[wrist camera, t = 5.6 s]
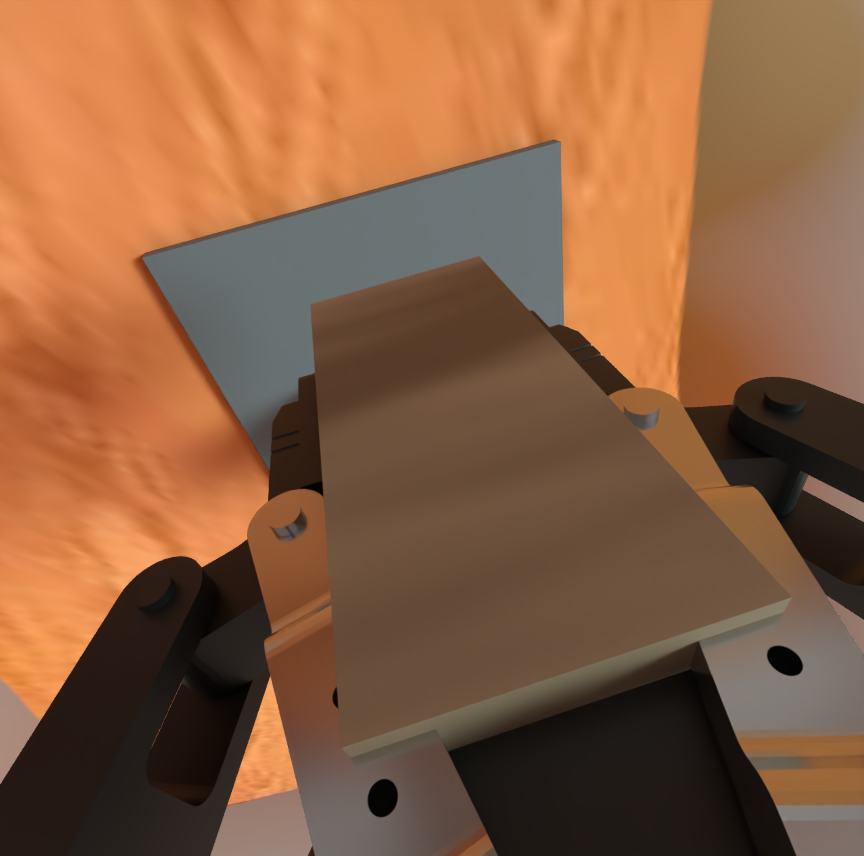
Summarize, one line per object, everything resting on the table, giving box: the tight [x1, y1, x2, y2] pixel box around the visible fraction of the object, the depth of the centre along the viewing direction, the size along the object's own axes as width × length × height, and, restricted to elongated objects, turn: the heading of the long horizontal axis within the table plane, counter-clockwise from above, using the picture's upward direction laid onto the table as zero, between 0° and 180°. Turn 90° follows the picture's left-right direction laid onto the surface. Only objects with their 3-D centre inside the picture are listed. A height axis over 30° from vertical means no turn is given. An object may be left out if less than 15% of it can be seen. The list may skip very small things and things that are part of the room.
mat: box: [142, 140, 564, 471], centre depth 27 cm, size 22×18×1 cm
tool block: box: [310, 256, 792, 758], centre depth 9 cm, size 4×4×9 cm
